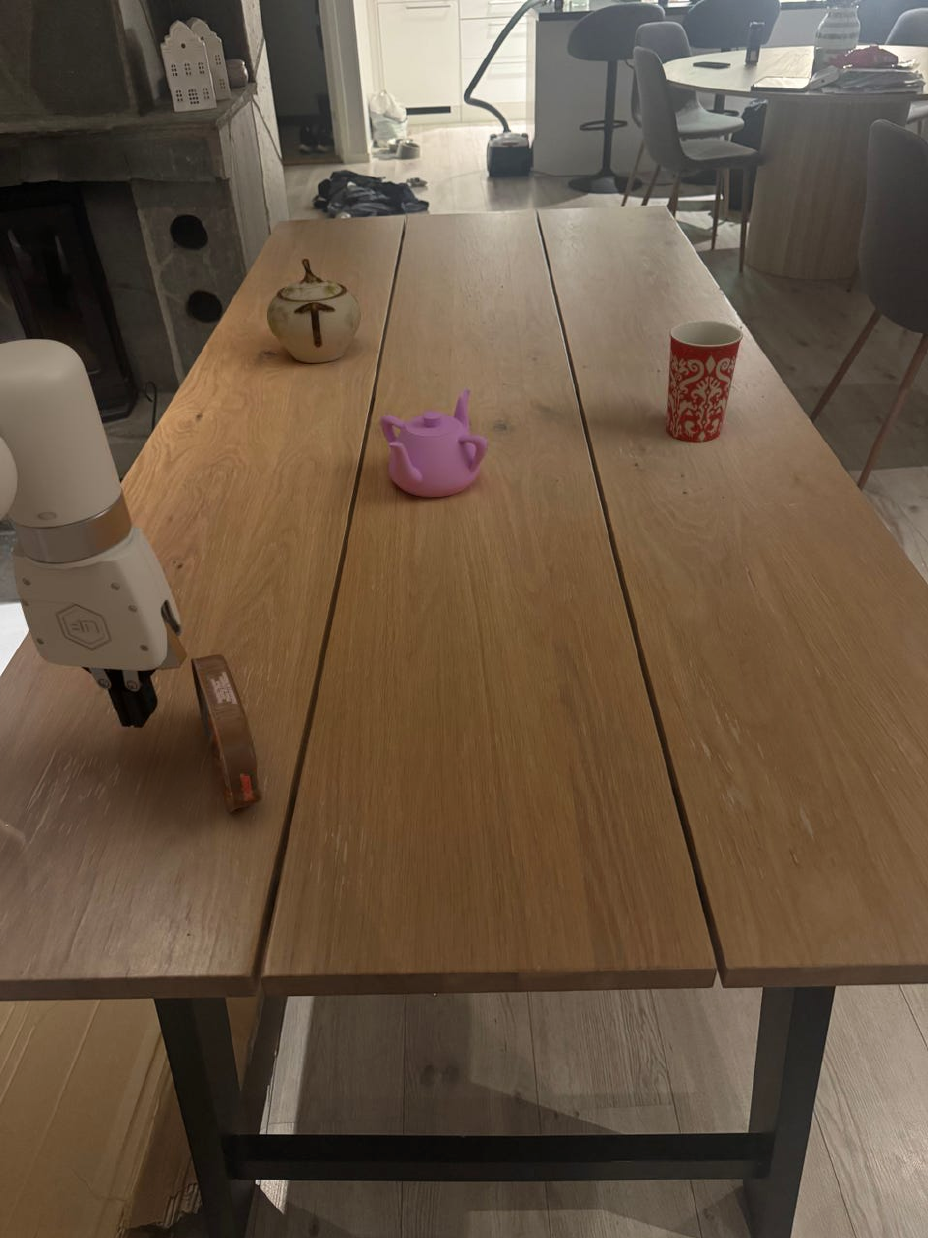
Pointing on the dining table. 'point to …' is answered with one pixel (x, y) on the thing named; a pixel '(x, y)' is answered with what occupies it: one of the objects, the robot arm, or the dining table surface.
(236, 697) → the tin
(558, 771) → the dining table surface
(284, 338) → the sugar bowl
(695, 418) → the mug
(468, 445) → the teapot
